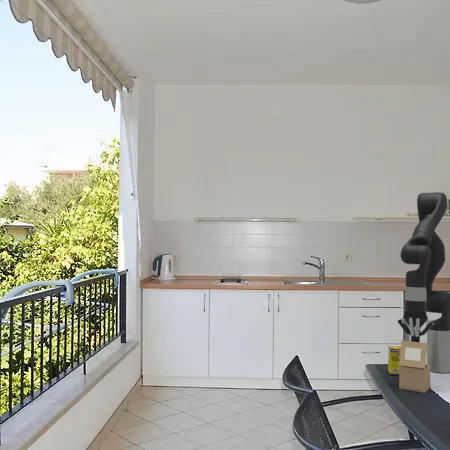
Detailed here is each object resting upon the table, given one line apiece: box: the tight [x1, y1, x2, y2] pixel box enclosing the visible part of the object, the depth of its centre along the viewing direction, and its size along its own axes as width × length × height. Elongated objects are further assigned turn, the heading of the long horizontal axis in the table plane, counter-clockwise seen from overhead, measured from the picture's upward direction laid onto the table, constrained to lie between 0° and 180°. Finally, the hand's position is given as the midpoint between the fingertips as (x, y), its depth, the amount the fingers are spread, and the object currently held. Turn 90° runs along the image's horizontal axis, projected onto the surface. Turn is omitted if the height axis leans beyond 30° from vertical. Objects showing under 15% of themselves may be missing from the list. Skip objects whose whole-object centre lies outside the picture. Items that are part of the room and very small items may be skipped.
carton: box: [398, 364, 431, 394], centre depth 192 cm, size 9×9×8 cm
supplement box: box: [387, 345, 401, 377], centre depth 212 cm, size 6×6×11 cm
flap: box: [399, 340, 427, 369], centre depth 189 cm, size 9×9×1 cm
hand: (415, 346), depth 193 cm, fingers closed
